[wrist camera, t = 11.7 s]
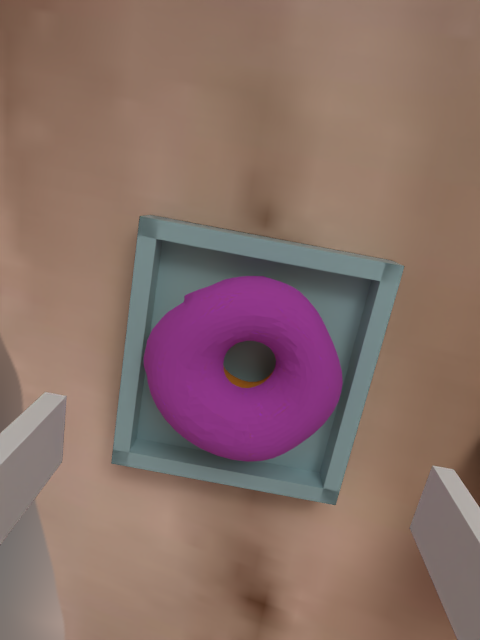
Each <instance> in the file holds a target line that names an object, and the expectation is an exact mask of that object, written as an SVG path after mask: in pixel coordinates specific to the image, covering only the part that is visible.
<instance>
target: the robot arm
mask: <svg viewBox="0 0 480 640" xmlns="http://www.w3.org/2000/svg"><path fill="white" fill-rule="evenodd" d="M66 397H67V396H64V395H59V394H53V393H48V392H45V393H44V394H42V395H41V396H40V397H39V398H38V399H37V400H36V401H35V402H34V403H33V404H32V405H31V406H29V407H28V408H27V409H26V410H25V411H24V412H23V413H22V414H21V415H20V416H19V417H18V418H16V419H15V421H13V422H12V423H11V424H10V425H9V426H8V427H7V428H6V429H5V430H3V431H2V432H1V433H0V545H1V543H2V542H3V541H4V539H5V538H6V537H7V535H8V534H9V532H10V531H11V530H12V529H13V527H14V526H15V525H16V523H17V522H18V521H19V519H20V518H21V516H22V515H23V514H24V512H25V511H26V510H27V508H28V507H29V506H30V504H31V503H32V502H33V500H34V499H35V498H36V496H37V495H38V494H39V492H40V491H41V490H42V488H43V487H44V486H45V484H46V483H47V482H48V480H49V479H50V478H51V476H52V475H53V474H54V472H55V471H56V469H57V468H58V467H59V465H60V464H61V463H62V456H63V442H64V427H65V412H66ZM410 530H411V532H412V535H413V537H414V539H415V542H416V544H417V546H418V549H419V551H420V553H421V556H422V558H423V560H424V563H425V565H426V567H427V570H428V572H429V574H430V577H431V579H432V581H433V584H434V586H435V588H436V591H437V593H438V595H439V598H440V600H441V602H442V605H443V607H444V609H445V612H446V614H447V616H448V619H449V621H450V624H451V626H452V628H453V631H454V633H455V635H456V638H457V640H480V507H479V506H478V504H477V503H476V501H475V500H474V498H473V497H472V496H471V494H470V493H469V491H468V490H467V488H466V487H465V485H464V484H463V482H462V481H461V479H460V478H459V476H458V475H457V473H456V472H455V470H454V469H449V468H444V467H438V466H432V468H431V471H430V474H429V476H428V479H427V482H426V485H425V487H424V490H423V493H422V495H421V498H420V501H419V504H418V506H417V509H416V512H415V514H414V517H413V520H412V523H411V525H410Z"/></svg>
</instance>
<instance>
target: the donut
mask: <svg viewBox="0 0 480 640" xmlns="http://www.w3.org/2000/svg"><path fill="white" fill-rule="evenodd" d="M243 341H256V342H260V343H263V344H264V345H266V346H268V347H269V348H270V349H271V350H272V352H273V353H274V355H275V359H276V364H275V369H274V370H273V372H272V373H271V374H270V375H269V376H268V377H266V378H265V379H263V380H260V381H256V382H248V381H244V380H241V379H239V378H236V377H235V376H233V375H231V374H230V373H229V372H228V371H227V370H226V369H225V368H224V366H223V363H224V358H225V355H226V353H227V351H228V350H229V349H230V348H231V347H232V346H234V345H235V344H237V343H239V342H243ZM144 368H145V371H146V374H147V381H148V385H149V389H150V393H151V396H152V398H153V400H154V402H155V404H156V406H157V408H158V410H159V411H160V413H161V414H162V416H163V417H164V419H165V420H166V421H167V422H168V423H169V424H170V425H171V426H172V428H173V429H174V430H175V431H176V432H178V433H179V434H180V435H181V436H182V437H184V438H185V439H186V440H188V441H189V442H191V443H192V444H194V445H195V446H197V447H199V448H201V449H203V450H205V451H207V452H210V453H212V454H214V455H217V456H220V457H224V458H228V459H231V460H238V461H247V462H250V461H264V460H268V459H272V458H275V457H277V456H280V455H282V454H285V453H286V452H288V451H290V450H291V449H293V448H295V447H296V446H298V445H299V444H301V443H302V442H303V441H305V440H306V439H308V438H309V437H310V436H311V435H313V434H314V433H315V432H316V431H317V430H318V429H319V428H320V427H321V426H322V425H323V424H324V423H325V422H326V421H327V420H328V418H329V417H330V415H331V414H332V413H333V411H334V409H335V407H336V405H337V403H338V401H339V398H340V395H341V390H342V383H343V380H342V370H341V366H340V362H339V358H338V355H337V352H336V349H335V346H334V344H333V341H332V339H331V337H330V335H329V333H328V330H327V328H326V326H325V324H324V322H323V320H322V318H321V317H320V315H319V313H318V311H317V310H316V309H315V308H314V306H313V305H312V304H311V303H310V301H309V300H308V299H307V298H306V297H305V296H304V295H303V294H302V293H301V292H300V291H298V290H297V289H295V288H294V287H292V286H290V285H288V284H286V283H283V282H280V281H277V280H274V279H271V278H267V277H265V276H241V277H234V278H229V279H225V280H222V281H220V282H217V283H215V284H213V285H210V286H208V287H205V288H202V289H199V290H196V291H194V292H191V293H189V294H187V295H185V296H184V302H183V303H181V304H180V305H178V306H176V307H175V308H173V309H172V310H170V311H169V312H167V313H166V314H165V315H164V316H163V317H162V319H161V320H160V321H159V322H158V323H157V324H156V326H155V327H154V328H153V329H152V331H151V333H150V335H149V338H148V340H147V344H146V349H145V353H144Z"/></svg>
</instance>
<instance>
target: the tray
mask: <svg viewBox="0 0 480 640" xmlns="http://www.w3.org/2000/svg"><path fill="white" fill-rule="evenodd" d="M403 269H404V266H403V265H401V264H398V263H396V262H394V261H392V260H387V259H381V258H376V257H371V256H365V255H360V254H355V253H350V252H344V251H339V250H334V249H328V248H323V247H318V246H313V245H307V244H302V243H297V242H291V241H286V240H281V239H276V238H270V237H265V236H260V235H254V234H249V233H244V232H239V231H233V230H228V229H223V228H217V227H212V226H207V225H202V224H196V223H191V222H186V221H180V220H175V219H170V218H164V217H159V216H154V215H145V216H140V219H139V228H138V236H137V245H136V254H135V262H134V271H133V280H132V288H131V297H130V306H129V315H128V323H127V332H126V341H125V349H124V358H123V367H122V375H121V384H120V393H119V402H118V410H117V419H116V428H115V436H114V445H113V454H112V462H111V463H112V464H117V465H123V466H128V467H133V468H139V469H144V470H149V471H155V472H160V473H165V474H171V475H176V476H182V477H187V478H192V479H198V480H203V481H208V482H214V483H219V484H225V485H230V486H235V487H241V488H246V489H251V490H257V491H262V492H267V493H273V494H278V495H284V496H289V497H294V498H300V499H305V500H310V501H316V502H321V503H327V504H332V505H336V502H337V498H338V495H339V491H340V488H341V484H342V481H343V477H344V474H345V470H346V467H347V463H348V460H349V457H350V453H351V450H352V446H353V443H354V439H355V436H356V432H357V429H358V425H359V422H360V418H361V415H362V411H363V408H364V404H365V401H366V398H367V394H368V391H369V387H370V384H371V380H372V377H373V373H374V370H375V366H376V363H377V359H378V356H379V352H380V349H381V346H382V342H383V339H384V335H385V332H386V328H387V325H388V321H389V318H390V314H391V311H392V307H393V304H394V300H395V297H396V293H397V290H398V287H399V283H400V280H401V276H402V273H403ZM241 276H265V277H267V278H271V279H274V280H277V281H280V282H283V283H286V284H288V285H290V286H292V287H294V288H295V289H297V290H298V291H300V292H301V293H302V294H303V295H304V296H305V297H306V298H307V299H308V300H309V301H310V303H311V304H312V305H313V306H314V308H315V309H316V310H317V311H318V313H319V315H320V317H321V318H322V320H323V322H324V324H325V326H326V328H327V330H328V333H329V335H330V337H331V339H332V341H333V344H334V346H335V349H336V352H337V355H338V358H339V362H340V366H341V370H342V380H343V383H342V390H341V395H340V398H339V401H338V403H337V405H336V407H335V409H334V411H333V413H332V414H331V415H330V417H329V418H328V420H327V421H326V422H325V423H324V424H323V425H322V426H321V427H320V428H319V429H318V430H317V431H316V432H315V433H314V434H313V435H311V436H310V437H309V438H308V439H306V440H305V441H303V442H302V443H301V444H299V445H298V446H296V447H295V448H293V449H291V450H290V451H288V452H286V453H285V454H282V455H280V456H277V457H275V458H272V459H268V460H264V461H250V462H247V461H238V460H231V459H228V458H224V457H220V456H217V455H214V454H212V453H210V452H207V451H205V450H203V449H201V448H199V447H197V446H195V445H194V444H192V443H191V442H189V441H188V440H186V439H185V438H184V437H182V436H181V435H180V434H179V433H178V432H176V431H175V430H174V429H173V428H172V426H171V425H170V424H169V423H168V422H167V421H166V420H165V419H164V417H163V416H162V414H161V413H160V411H159V410H158V408H157V406H156V404H155V402H154V400H153V398H152V396H151V393H150V389H149V385H148V381H147V374H146V371H145V368H144V353H145V349H146V344H147V340H148V338H149V335H150V333H151V331H152V329H153V328H154V327H155V326H156V324H157V323H158V322H159V321H160V320H161V319H162V317H163V316H164V315H165V314H166V313H167V312H169V311H170V310H172V309H173V308H175V307H176V306H178V305H180V304H181V303H183V302H184V296H185V295H187V294H189V293H191V292H194V291H196V290H199V289H202V288H205V287H208V286H210V285H213V284H215V283H217V282H220V281H222V280H225V279H229V278H234V277H241ZM275 364H276V359H275V355H274V353H273V352H272V350H271V349H270V348H269V347H268V346H266V345H264V344H263V343H260V342H256V341H243V342H239V343H237V344H235V345H234V346H232V347H231V348H230V349H229V350H228V351H227V353H226V355H225V358H224V363H223V366H224V368H225V369H226V370H227V371H228V372H229V373H230V374H231V375H233V376H235V377H236V378H239V379H241V380H244V381H248V382H256V381H260V380H263V379H265V378H266V377H268V376H269V375H270V374H271V373H272V372H273V370H274V369H275Z"/></svg>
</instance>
